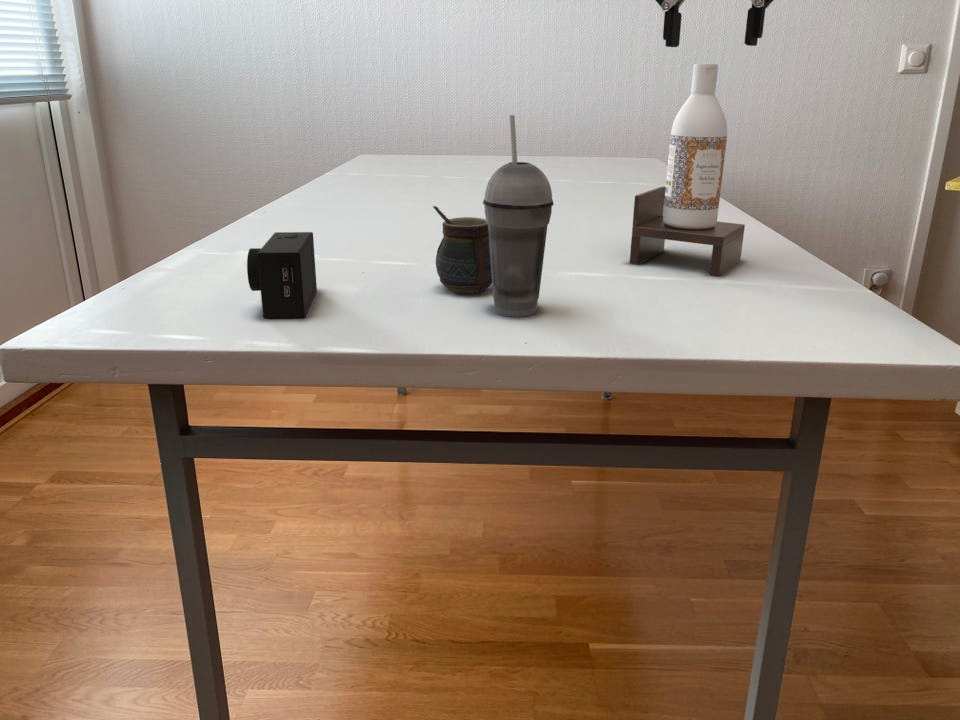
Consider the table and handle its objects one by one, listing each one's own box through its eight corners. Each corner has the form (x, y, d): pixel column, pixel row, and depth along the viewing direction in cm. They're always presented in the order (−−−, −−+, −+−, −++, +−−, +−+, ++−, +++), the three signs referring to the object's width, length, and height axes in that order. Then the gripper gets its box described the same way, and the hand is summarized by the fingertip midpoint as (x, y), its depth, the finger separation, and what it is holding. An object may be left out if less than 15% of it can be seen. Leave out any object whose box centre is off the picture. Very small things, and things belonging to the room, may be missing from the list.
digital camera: (269, 291, 90) (263, 231, 87) (317, 291, 90) (313, 230, 87) (251, 319, 80) (244, 252, 77) (304, 318, 80) (299, 251, 78)
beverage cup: (514, 325, 79) (519, 119, 71) (467, 309, 84) (468, 115, 77) (563, 311, 83) (573, 116, 76) (516, 297, 88) (521, 112, 81)
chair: (740, 261, 106) (749, 194, 103) (718, 276, 98) (727, 204, 95) (656, 249, 112) (661, 186, 108) (629, 263, 104) (634, 195, 101)
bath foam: (676, 231, 99) (693, 63, 92) (653, 221, 105) (667, 63, 98) (726, 229, 100) (746, 64, 93) (700, 219, 107) (718, 64, 100)
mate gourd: (509, 292, 90) (512, 205, 87) (453, 301, 86) (453, 211, 83) (477, 278, 96) (477, 196, 92) (422, 286, 92) (421, 201, 88)
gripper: (642, -113, 90) (632, 46, 96) (798, -132, 82) (776, 43, 88) (664, -101, 96) (653, 48, 102) (812, -118, 88) (791, 45, 94)
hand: (710, 46), depth 95 cm, fingers open, 9 cm apart
